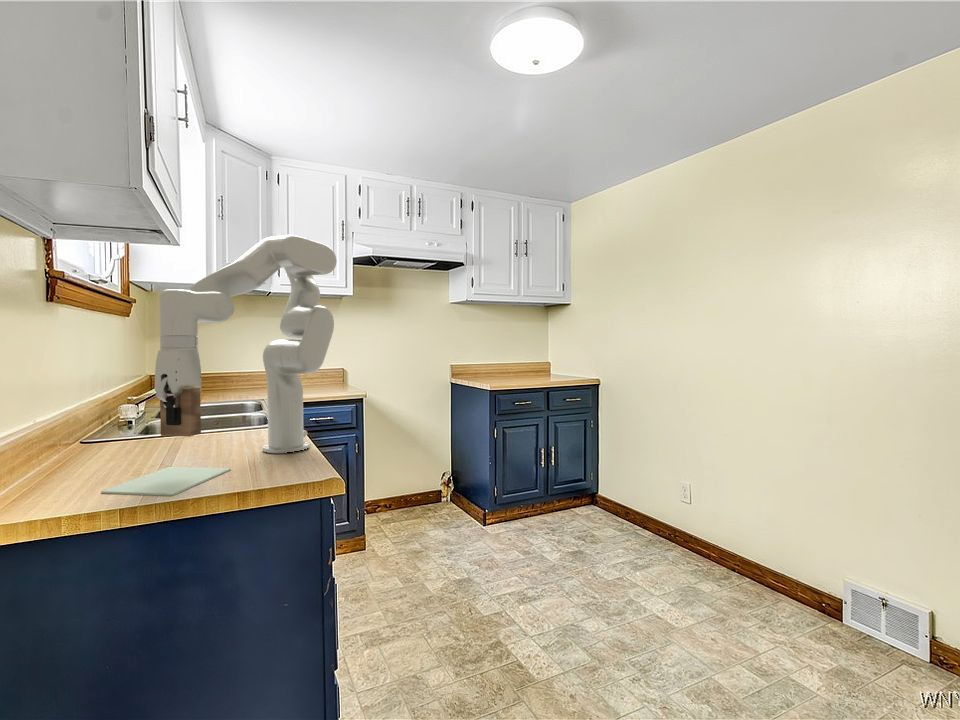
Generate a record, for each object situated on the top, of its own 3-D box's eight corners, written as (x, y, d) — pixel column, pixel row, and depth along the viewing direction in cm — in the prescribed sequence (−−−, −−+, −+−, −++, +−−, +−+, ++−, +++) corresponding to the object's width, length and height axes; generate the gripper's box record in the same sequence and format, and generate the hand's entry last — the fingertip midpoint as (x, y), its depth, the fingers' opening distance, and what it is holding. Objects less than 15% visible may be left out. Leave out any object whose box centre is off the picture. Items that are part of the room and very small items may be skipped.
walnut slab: (173, 432, 120) (172, 385, 120) (200, 433, 120) (200, 386, 119) (160, 435, 116) (159, 387, 116) (189, 436, 116) (188, 387, 115)
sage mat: (169, 468, 125) (169, 466, 125) (230, 470, 124) (230, 468, 124) (100, 493, 106) (100, 491, 106) (172, 495, 104) (172, 493, 104)
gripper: (188, 343, 126) (189, 417, 127) (136, 344, 109) (137, 429, 110) (217, 343, 125) (218, 418, 126) (168, 344, 108) (170, 430, 109)
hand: (180, 422), depth 118 cm, fingers closed on walnut slab, 4 cm apart
